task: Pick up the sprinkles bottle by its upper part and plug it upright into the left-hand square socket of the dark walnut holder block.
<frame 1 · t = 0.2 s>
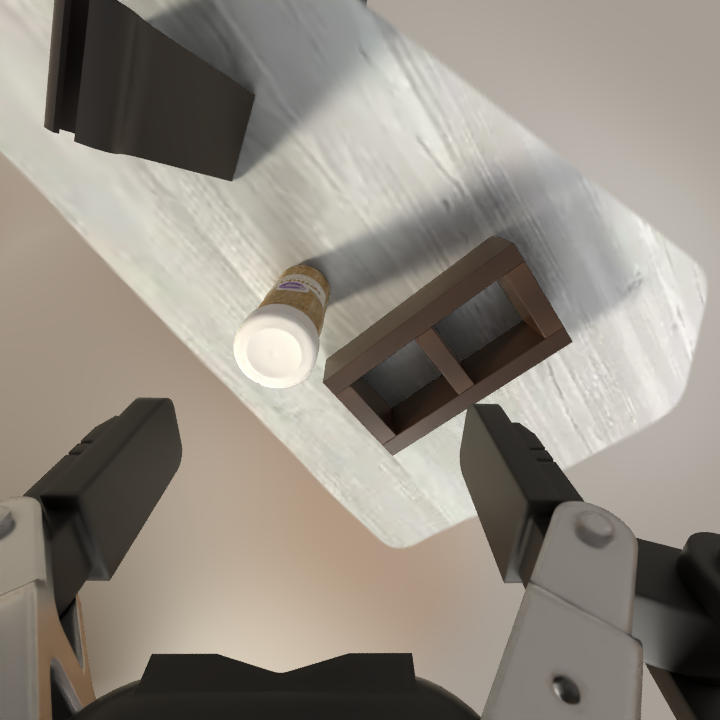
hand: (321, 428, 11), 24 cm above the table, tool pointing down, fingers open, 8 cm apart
phone stand: (184, 112, 27), on the table
sprinkles bottle: (303, 290, 33), on the table
holder: (434, 341, 35), on the table
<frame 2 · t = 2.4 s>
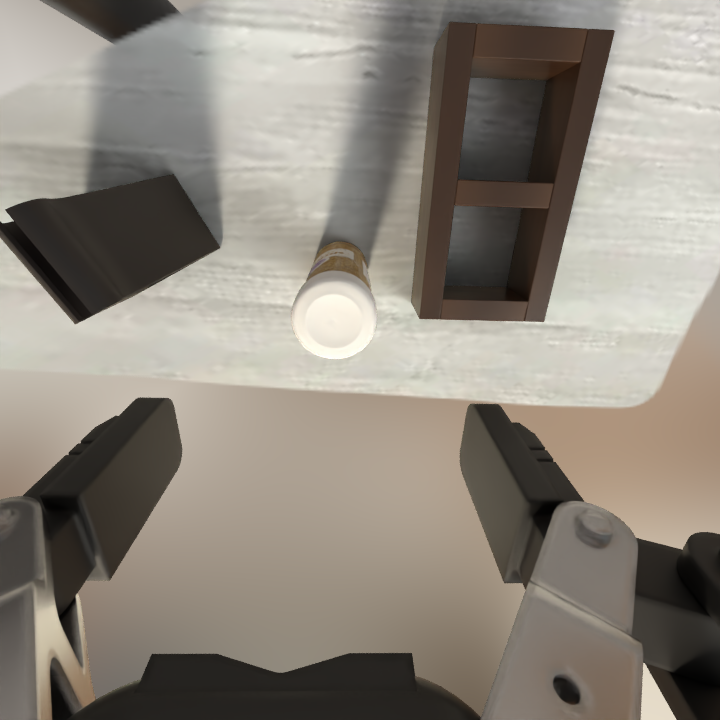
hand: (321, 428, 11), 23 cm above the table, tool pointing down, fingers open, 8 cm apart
phone stand: (154, 238, 31), on the table
sprinkles bottle: (340, 268, 32), on the table
holder: (483, 192, 30), on the table
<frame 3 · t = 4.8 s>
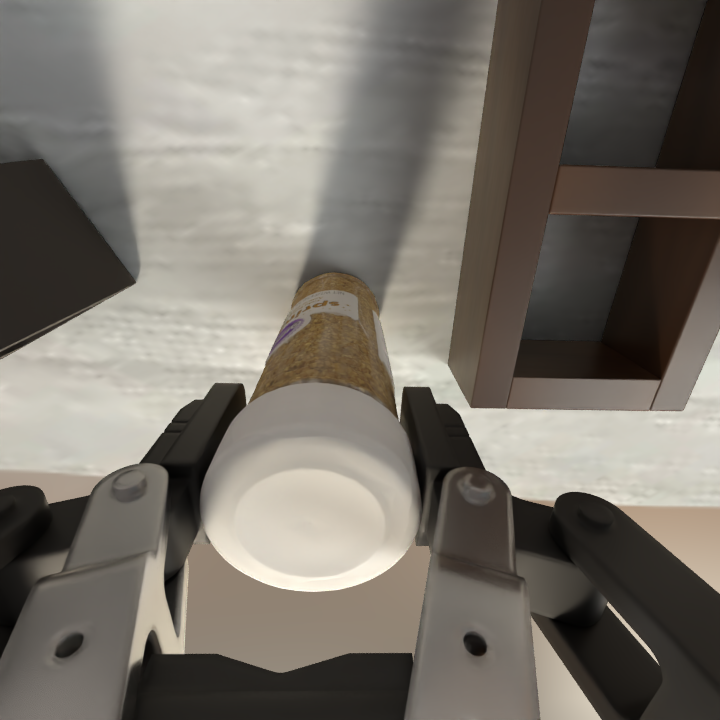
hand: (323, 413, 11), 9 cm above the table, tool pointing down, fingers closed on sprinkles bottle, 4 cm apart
phone stand: (27, 267, 19), on the table
sprinkles bottle: (335, 314, 20), on the table, touching gripper
holder: (577, 191, 18), on the table
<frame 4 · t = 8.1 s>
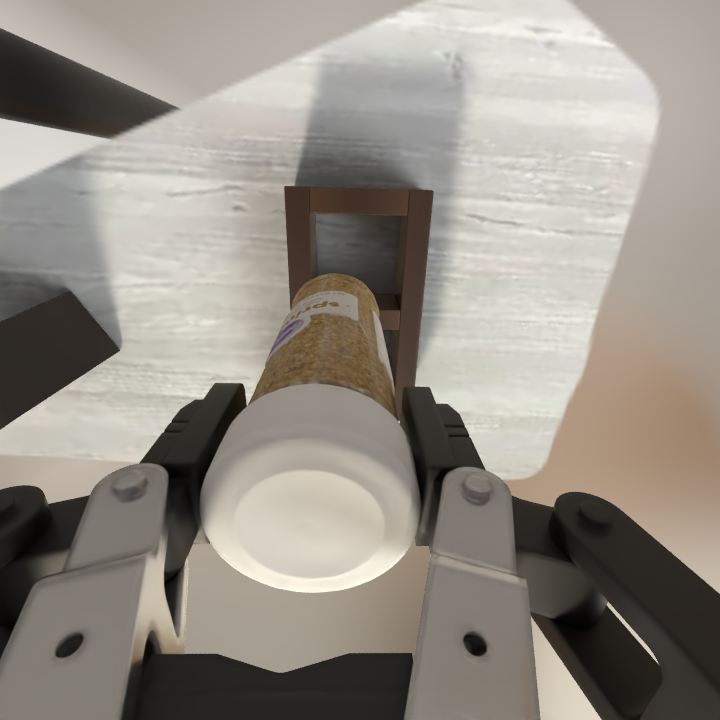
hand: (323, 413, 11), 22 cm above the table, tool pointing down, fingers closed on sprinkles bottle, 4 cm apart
phone stand: (59, 342, 34), on the table
sprinkles bottle: (335, 314, 20), point 13 cm above the table, touching gripper
holder: (355, 302, 33), on the table
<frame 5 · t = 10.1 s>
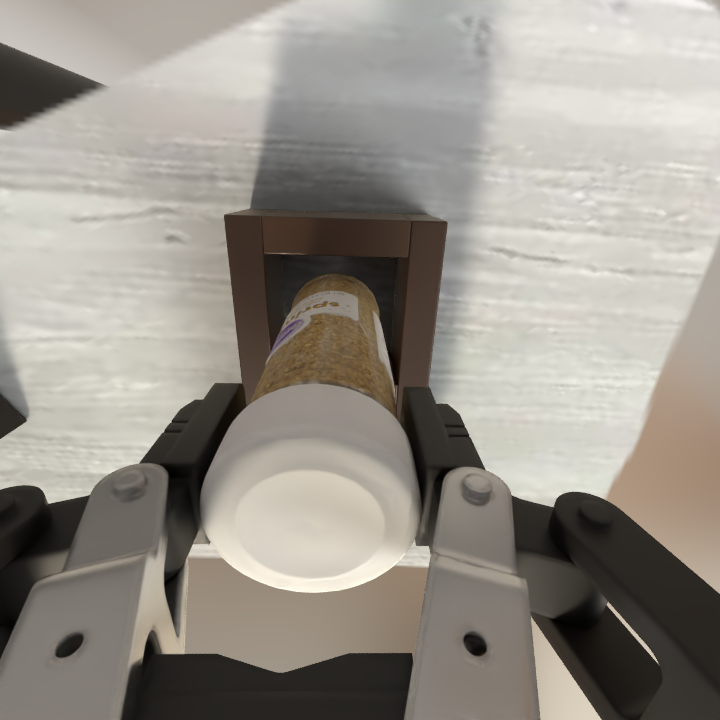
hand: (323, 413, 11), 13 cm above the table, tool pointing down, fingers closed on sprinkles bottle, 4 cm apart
sprinkles bottle: (335, 314, 20), point 3 cm above the table, touching gripper
holder: (338, 361, 24), on the table
when the fingers open (9 cm above the table, at t = 11.5 s): sprinkles bottle stays where it is, resting in holder.
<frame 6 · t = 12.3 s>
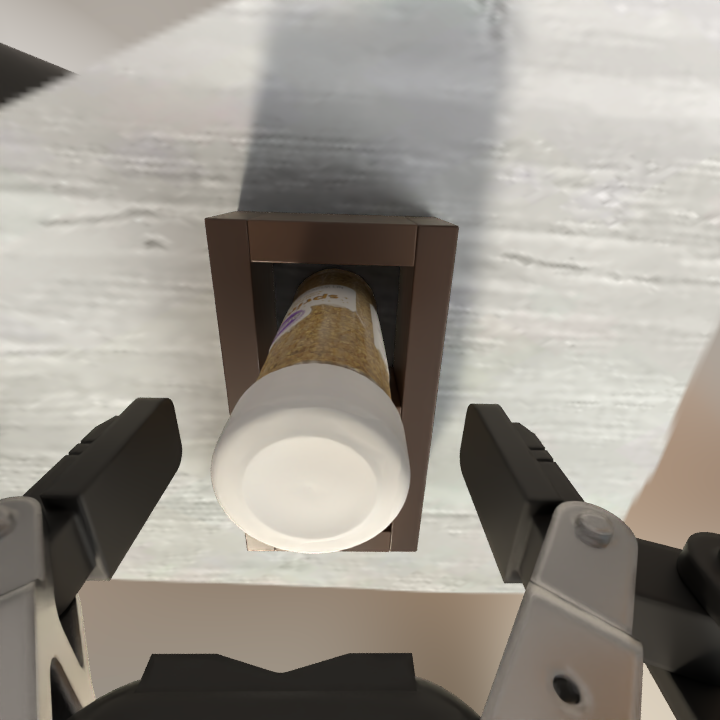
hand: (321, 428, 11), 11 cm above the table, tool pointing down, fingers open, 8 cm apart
sprinkles bottle: (335, 308, 21), resting in holder
holder: (336, 377, 22), on the table
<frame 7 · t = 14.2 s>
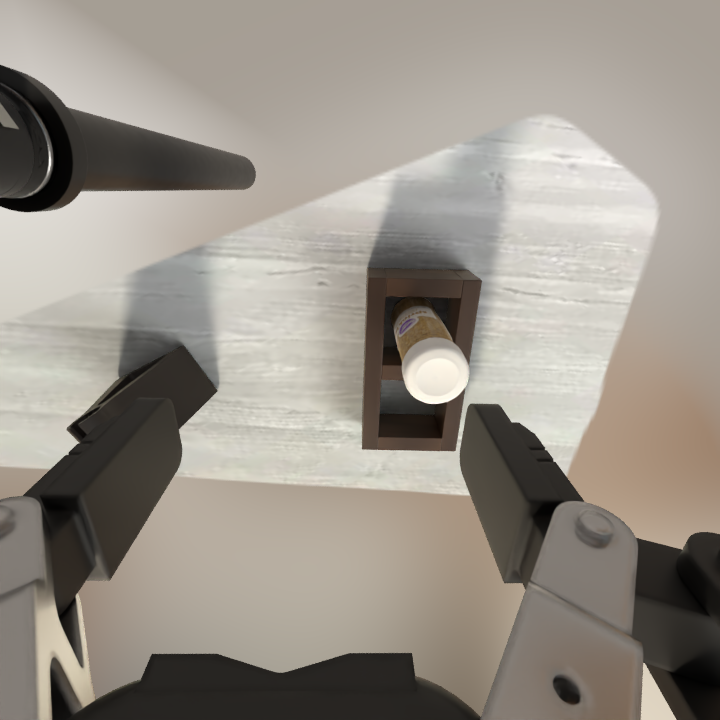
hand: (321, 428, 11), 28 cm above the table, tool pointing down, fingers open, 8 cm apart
phone stand: (169, 383, 42), on the table
sprinkles bottle: (412, 316, 39), resting in holder
holder: (410, 354, 40), on the table
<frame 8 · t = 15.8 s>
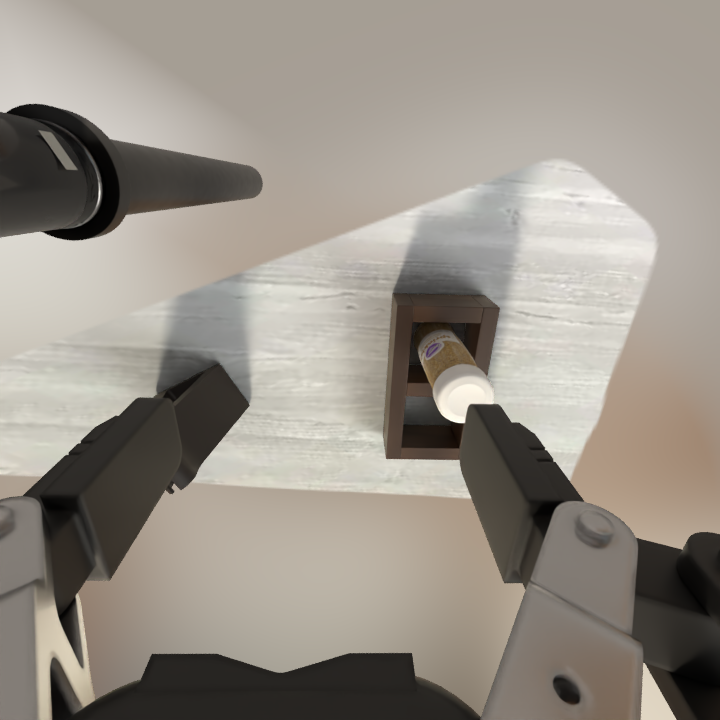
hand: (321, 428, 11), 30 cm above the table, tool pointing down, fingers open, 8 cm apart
phone stand: (204, 398, 45), on the table
sprinkles bottle: (432, 336, 42), resting in holder
holder: (429, 371, 44), on the table
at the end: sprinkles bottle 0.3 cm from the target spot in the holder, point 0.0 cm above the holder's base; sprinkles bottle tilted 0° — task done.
